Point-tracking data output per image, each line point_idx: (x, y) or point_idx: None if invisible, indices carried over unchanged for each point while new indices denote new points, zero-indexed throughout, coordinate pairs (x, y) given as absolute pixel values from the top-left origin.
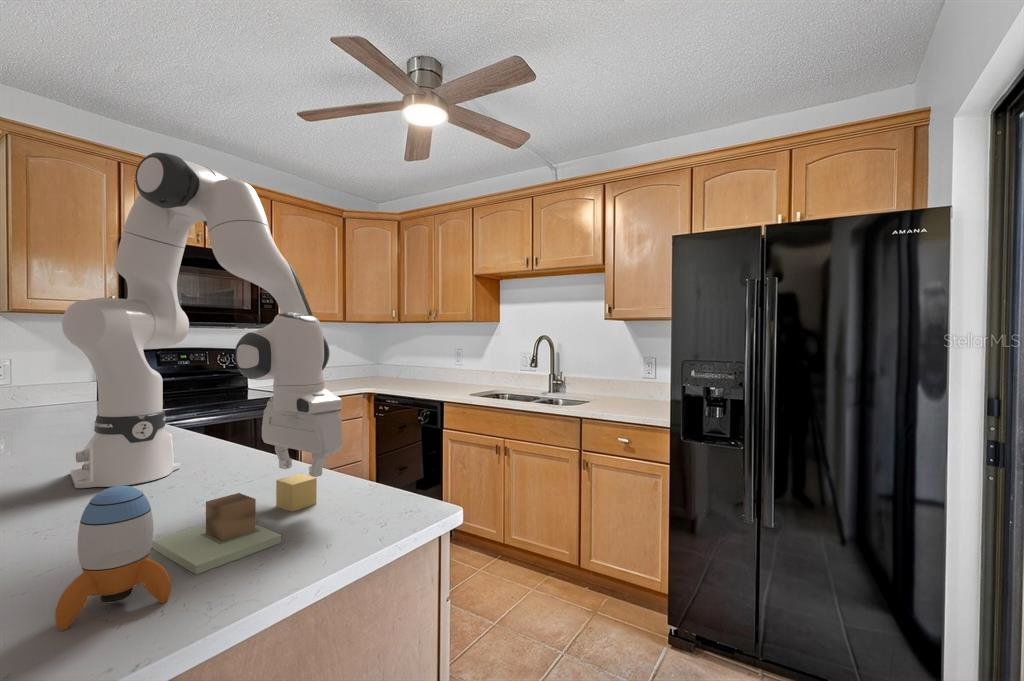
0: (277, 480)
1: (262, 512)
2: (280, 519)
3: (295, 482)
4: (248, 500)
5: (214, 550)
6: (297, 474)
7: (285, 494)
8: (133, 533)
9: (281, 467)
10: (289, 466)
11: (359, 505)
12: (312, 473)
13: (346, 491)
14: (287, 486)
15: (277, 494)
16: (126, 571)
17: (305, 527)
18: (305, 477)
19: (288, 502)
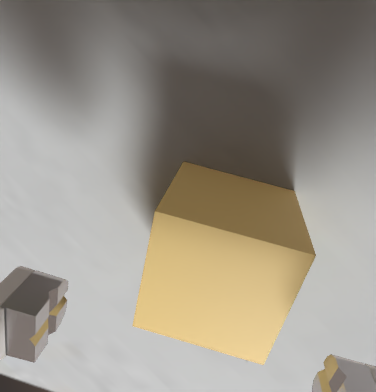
0: (304, 252)
1: (298, 111)
2: (161, 76)
3: (171, 247)
4: None
5: None
6: (267, 351)
7: (224, 199)
8: None
9: (358, 364)
10: (318, 386)
11: None
12: (21, 277)
13: (158, 360)
14: (204, 216)
15: (292, 212)
16: None
17: (9, 47)
18: (189, 322)
19: (203, 179)
